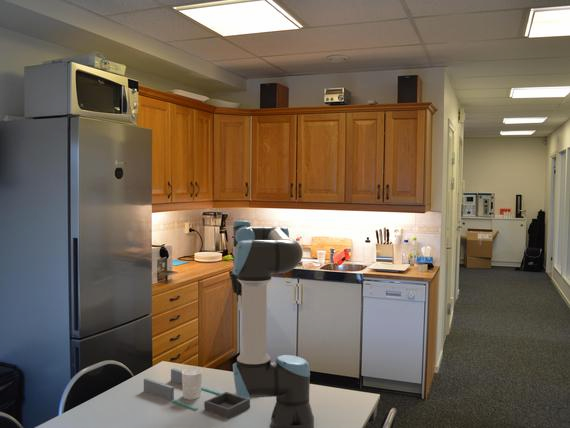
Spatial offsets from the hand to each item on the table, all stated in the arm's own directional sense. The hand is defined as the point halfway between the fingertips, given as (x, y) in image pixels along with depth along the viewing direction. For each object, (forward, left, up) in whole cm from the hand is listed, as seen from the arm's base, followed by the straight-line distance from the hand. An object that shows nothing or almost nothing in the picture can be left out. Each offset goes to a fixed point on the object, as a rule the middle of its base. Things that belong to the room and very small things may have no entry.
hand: (241, 309), depth 230 cm
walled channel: (+12, +29, -29) cm, 43 cm away
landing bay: (-4, +29, -29) cm, 41 cm away
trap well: (-18, +29, -29) cm, 45 cm away
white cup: (+1, +29, -30) cm, 42 cm away
